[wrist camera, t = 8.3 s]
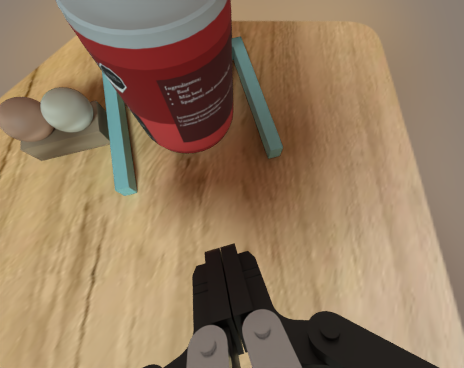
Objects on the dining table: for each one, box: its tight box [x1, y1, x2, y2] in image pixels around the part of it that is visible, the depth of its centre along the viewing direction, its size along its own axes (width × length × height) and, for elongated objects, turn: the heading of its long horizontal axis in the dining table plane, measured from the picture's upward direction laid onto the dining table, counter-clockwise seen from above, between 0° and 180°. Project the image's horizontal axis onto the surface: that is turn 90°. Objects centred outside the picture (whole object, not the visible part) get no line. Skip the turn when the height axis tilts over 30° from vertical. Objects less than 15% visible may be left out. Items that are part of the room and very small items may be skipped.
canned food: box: [56, 0, 233, 153], centre depth 15 cm, size 8×8×11 cm
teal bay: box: [102, 37, 283, 196], centre depth 20 cm, size 13×12×2 cm
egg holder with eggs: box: [0, 87, 110, 161], centre depth 18 cm, size 6×3×5 cm, turn 105°
